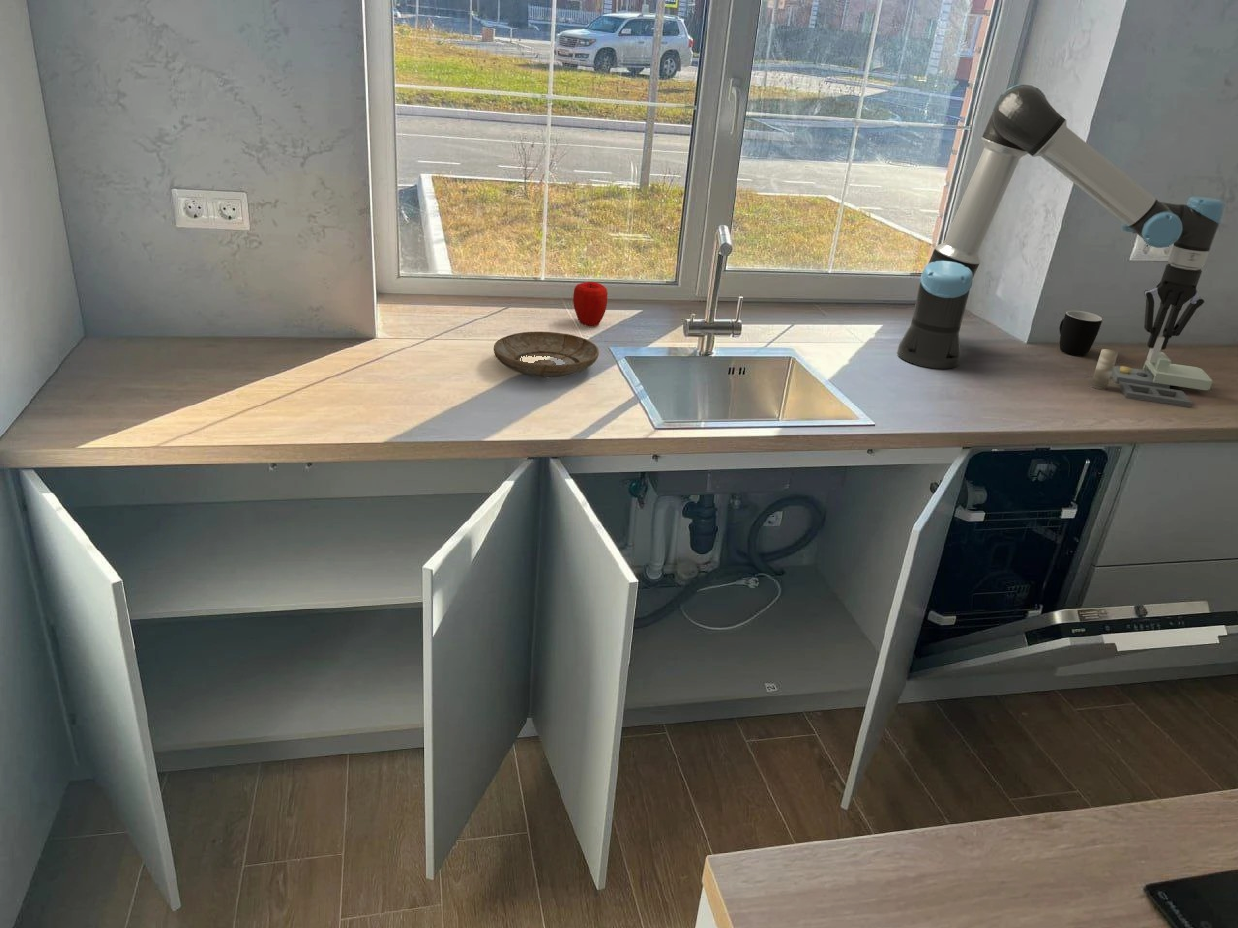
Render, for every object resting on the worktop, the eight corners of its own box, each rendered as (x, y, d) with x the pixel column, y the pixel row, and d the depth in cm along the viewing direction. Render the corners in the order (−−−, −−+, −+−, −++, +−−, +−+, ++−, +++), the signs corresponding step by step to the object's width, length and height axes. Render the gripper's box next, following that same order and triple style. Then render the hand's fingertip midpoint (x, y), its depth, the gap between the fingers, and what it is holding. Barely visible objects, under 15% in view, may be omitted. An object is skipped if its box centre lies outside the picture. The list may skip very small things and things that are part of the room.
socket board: (1125, 397, 216) (1127, 392, 215) (1118, 386, 223) (1119, 381, 222) (1190, 407, 213) (1191, 402, 212) (1180, 395, 220) (1182, 390, 219)
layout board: (1115, 382, 225) (1119, 372, 224) (1107, 370, 233) (1111, 360, 231) (1168, 390, 222) (1172, 380, 221) (1158, 378, 230) (1162, 368, 229)
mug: (1098, 358, 241) (1110, 321, 237) (1068, 358, 240) (1079, 320, 235) (1070, 343, 252) (1081, 307, 247) (1041, 342, 250) (1052, 306, 246)
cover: (1153, 382, 222) (1160, 361, 220) (1142, 368, 231) (1150, 348, 229) (1209, 390, 220) (1218, 369, 217) (1197, 376, 228) (1205, 356, 226)
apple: (575, 317, 239) (577, 276, 234) (608, 321, 238) (610, 280, 234) (568, 327, 231) (570, 285, 227) (602, 331, 231) (605, 289, 226)
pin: (1092, 388, 220) (1103, 352, 216) (1089, 383, 223) (1100, 348, 219) (1108, 390, 219) (1119, 354, 215) (1105, 385, 222) (1116, 350, 218)
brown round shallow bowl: (619, 371, 206) (620, 350, 204) (542, 395, 190) (543, 373, 188) (548, 343, 220) (549, 323, 218) (471, 363, 204) (471, 342, 202)
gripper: (1159, 265, 212) (1126, 361, 223) (1220, 273, 210) (1184, 370, 220) (1150, 258, 219) (1119, 352, 229) (1210, 266, 216) (1175, 360, 227)
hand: (1151, 360), depth 225 cm, fingers closed
